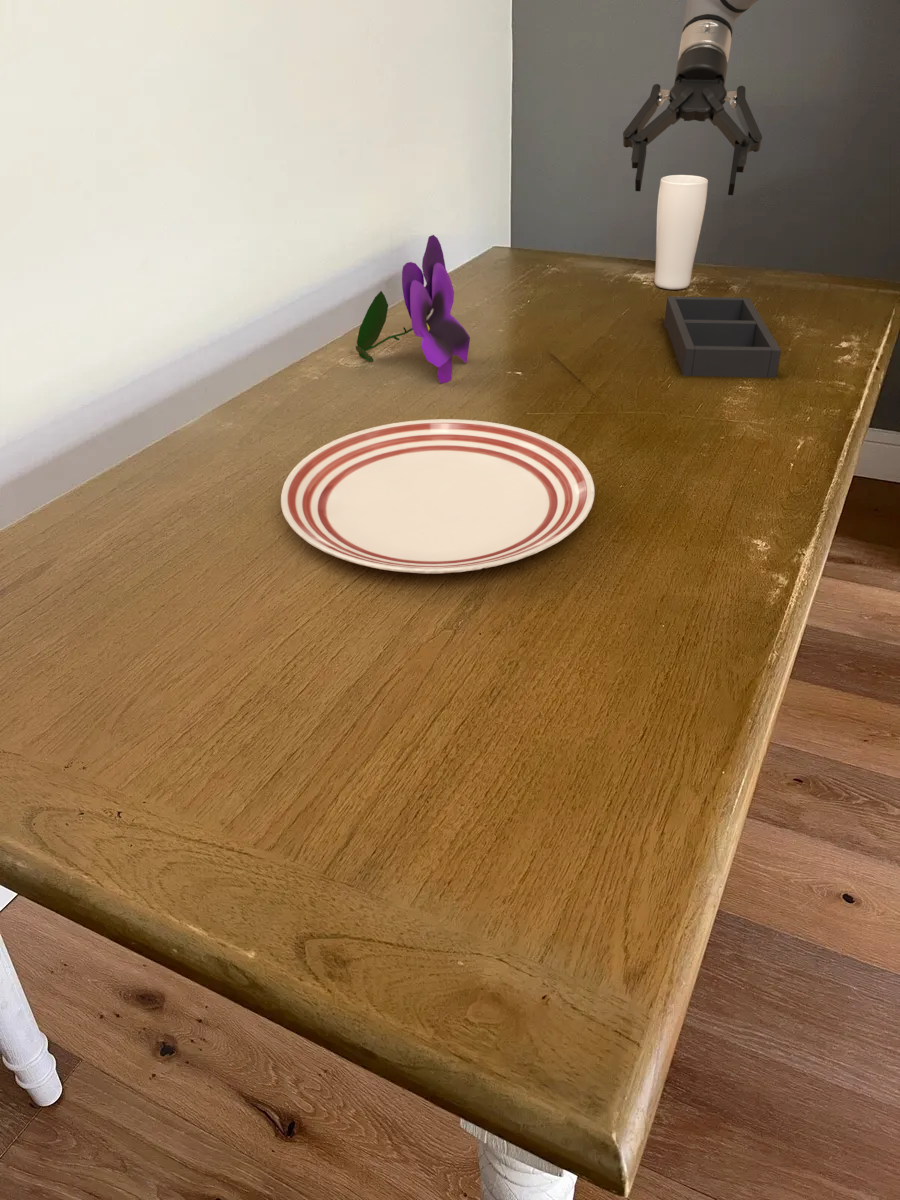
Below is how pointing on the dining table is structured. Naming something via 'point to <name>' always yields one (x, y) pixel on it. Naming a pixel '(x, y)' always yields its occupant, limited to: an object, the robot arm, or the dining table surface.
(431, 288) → the flower
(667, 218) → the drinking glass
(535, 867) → the dining table surface
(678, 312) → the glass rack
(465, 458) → the dinner plate
